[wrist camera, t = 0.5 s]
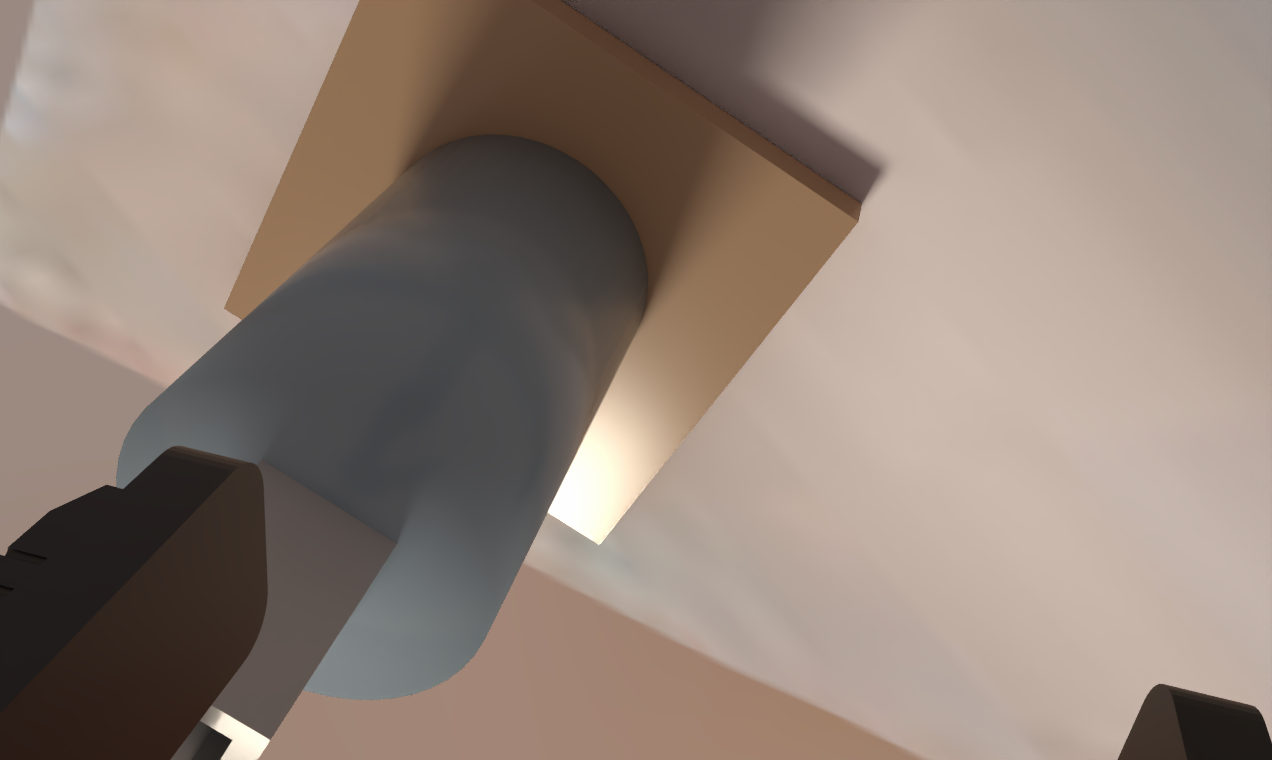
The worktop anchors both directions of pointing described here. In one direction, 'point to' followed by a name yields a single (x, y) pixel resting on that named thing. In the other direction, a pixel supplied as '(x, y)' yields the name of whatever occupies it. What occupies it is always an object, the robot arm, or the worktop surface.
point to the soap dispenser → (475, 330)
